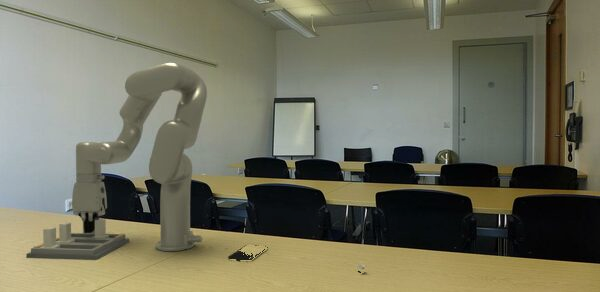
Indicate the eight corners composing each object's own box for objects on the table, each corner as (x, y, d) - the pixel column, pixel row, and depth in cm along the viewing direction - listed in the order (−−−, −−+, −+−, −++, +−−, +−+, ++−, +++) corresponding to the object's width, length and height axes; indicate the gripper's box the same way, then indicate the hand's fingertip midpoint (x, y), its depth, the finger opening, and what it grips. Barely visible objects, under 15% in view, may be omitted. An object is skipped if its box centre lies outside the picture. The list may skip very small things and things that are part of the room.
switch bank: (129, 241, 140) (129, 233, 140) (96, 259, 120) (96, 250, 120) (68, 240, 142) (68, 231, 142) (26, 257, 122) (26, 247, 122)
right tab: (109, 239, 139) (109, 218, 139) (103, 241, 136) (103, 221, 135) (96, 238, 139) (96, 218, 139) (91, 241, 136) (91, 220, 136)
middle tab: (74, 243, 133) (74, 222, 133) (68, 246, 130) (68, 224, 129) (62, 243, 133) (61, 222, 133) (55, 246, 130) (55, 224, 130)
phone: (269, 246, 134) (250, 259, 119) (268, 249, 134) (250, 263, 119) (247, 244, 136) (226, 257, 122) (247, 247, 136) (226, 260, 122)
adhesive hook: (355, 273, 112) (355, 262, 112) (363, 272, 113) (363, 261, 113) (361, 277, 109) (361, 265, 109) (369, 275, 110) (369, 264, 110)
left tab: (60, 249, 127) (60, 227, 126) (53, 252, 123) (52, 229, 123) (47, 248, 127) (46, 226, 127) (39, 252, 123) (39, 229, 123)
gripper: (115, 177, 140) (116, 229, 141) (74, 177, 141) (75, 229, 142) (103, 180, 133) (104, 235, 133) (60, 179, 134) (61, 234, 134)
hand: (89, 231), depth 138 cm, fingers closed
